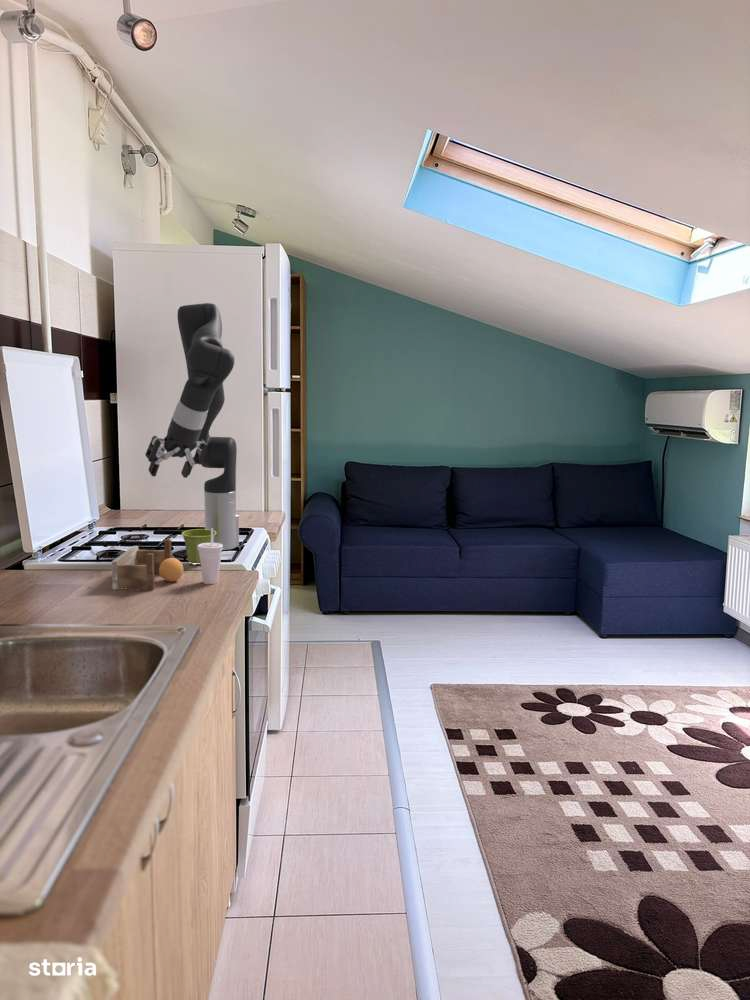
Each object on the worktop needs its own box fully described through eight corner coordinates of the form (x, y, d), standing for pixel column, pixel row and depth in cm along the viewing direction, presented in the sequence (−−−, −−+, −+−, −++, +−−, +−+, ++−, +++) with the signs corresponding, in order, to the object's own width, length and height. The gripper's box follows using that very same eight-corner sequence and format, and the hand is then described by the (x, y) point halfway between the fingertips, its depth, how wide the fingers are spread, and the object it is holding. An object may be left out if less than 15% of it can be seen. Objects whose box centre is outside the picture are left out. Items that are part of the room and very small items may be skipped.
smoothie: (217, 586, 203) (216, 531, 200) (193, 584, 204) (192, 530, 202) (227, 579, 209) (226, 526, 206) (204, 578, 210) (203, 525, 208)
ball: (174, 576, 211) (174, 554, 210) (188, 581, 207) (188, 558, 206) (154, 581, 206) (154, 558, 205) (168, 585, 202) (167, 562, 201)
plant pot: (223, 561, 228) (223, 531, 226) (203, 568, 219) (202, 537, 218) (196, 557, 232) (195, 527, 230) (175, 564, 223) (174, 533, 222)
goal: (171, 572, 215) (170, 539, 213) (153, 590, 198) (152, 554, 197) (134, 571, 215) (133, 538, 214) (112, 589, 198) (111, 553, 197)
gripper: (208, 414, 201) (188, 467, 208) (155, 408, 191) (135, 465, 198) (220, 431, 196) (199, 485, 203) (166, 426, 187) (146, 483, 194)
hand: (168, 475), depth 201 cm, fingers open, 8 cm apart
